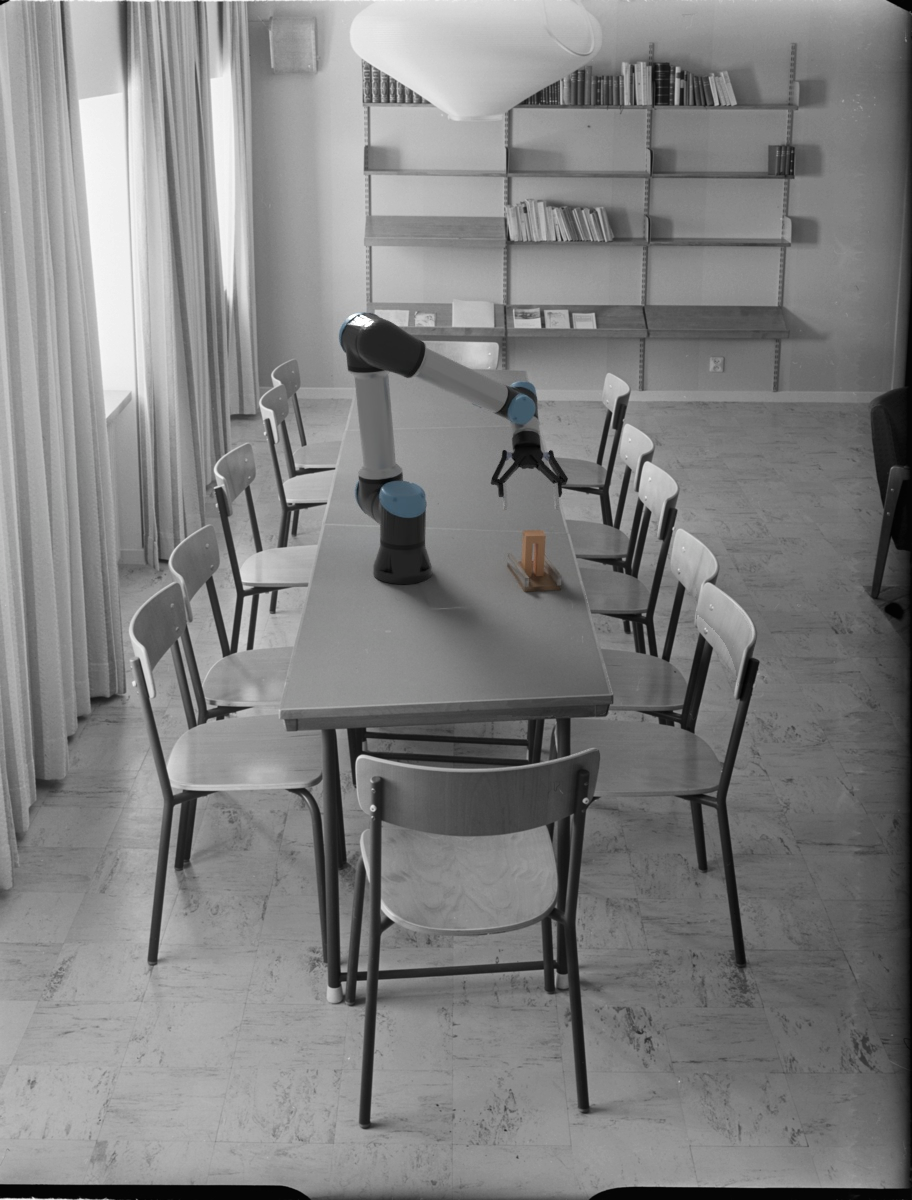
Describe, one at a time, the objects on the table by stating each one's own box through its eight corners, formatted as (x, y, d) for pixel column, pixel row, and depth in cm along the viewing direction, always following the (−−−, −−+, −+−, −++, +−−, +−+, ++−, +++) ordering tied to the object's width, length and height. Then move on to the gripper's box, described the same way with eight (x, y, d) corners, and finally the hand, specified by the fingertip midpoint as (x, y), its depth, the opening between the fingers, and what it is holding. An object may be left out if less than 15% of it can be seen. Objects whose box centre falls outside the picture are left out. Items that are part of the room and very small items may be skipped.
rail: (524, 591, 299) (525, 578, 298) (507, 566, 316) (507, 553, 314) (560, 589, 301) (561, 576, 300) (541, 564, 318) (542, 551, 316)
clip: (524, 576, 306) (526, 536, 302) (521, 570, 310) (522, 530, 306) (543, 576, 306) (545, 535, 302) (539, 569, 310) (542, 530, 306)
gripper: (569, 443, 323) (575, 513, 315) (478, 443, 321) (482, 514, 313) (574, 429, 316) (581, 500, 308) (481, 428, 314) (485, 501, 306)
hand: (531, 507), depth 310 cm, fingers open, 13 cm apart
